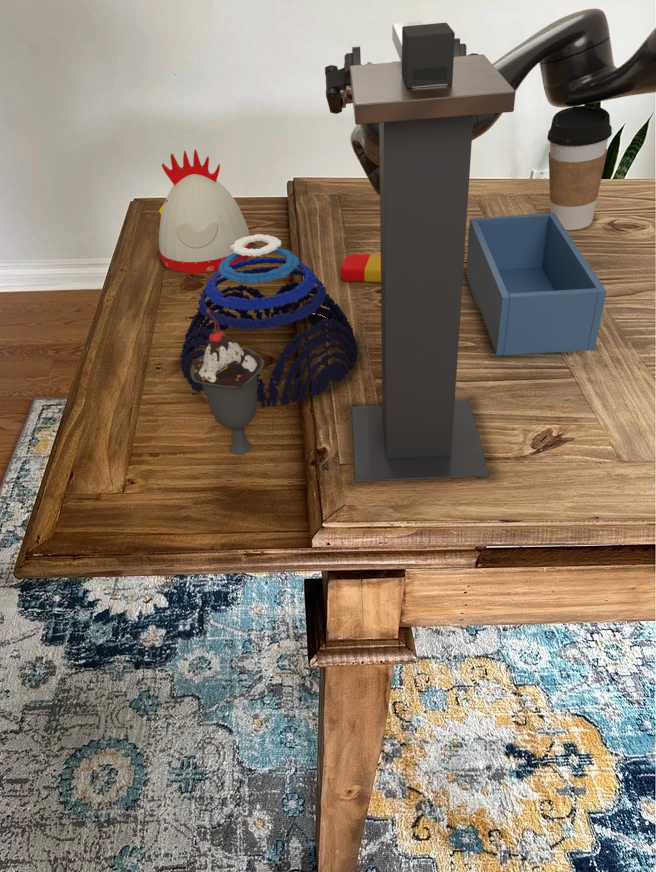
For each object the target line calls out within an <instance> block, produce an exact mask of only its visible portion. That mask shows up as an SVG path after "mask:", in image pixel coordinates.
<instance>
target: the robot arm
mask: <svg viewBox="0 0 656 872" xmlns="http://www.w3.org/2000/svg"><path fill="white" fill-rule="evenodd" d="M470 55H480V54H479V53H474V52H473V53H470V54H467V44H466V43H461V38H460V37H456V38H455V40H454V57H458V56H470ZM361 56H362V55H361V46H352V48H351V52H347V53H345V54H344V57H343V58H344V62H343V67H342V68H339V67H338V66H337V65H334V64H330V65H327V66H325V67H324V75H325V98H326V101H327V105H328V108H329V112H330V113H331V114H335V115H338V114H340V113H342V112H343V109H346V108H347V105H349V104H353V99H352V90H351V79H350V66H356V65H367V64H374V63H373V62H371V61H367V62H365V63H362V61H361V60H362V59H361V58H362V57H361ZM395 62H401V60H400V61H399V60H397V61H395ZM491 64H492V65H493V66H494V67H495V68H496V69H497V71H498V72H499V73H500V74H501V75H502V76H503V78H504V79H505V80H506V81H507V82H508V83H509V85H510V86H511V87H512V88H513V89H514V90H515V92H517V91H518V90H519V88H520V87H521V84H522V83H523V82H524V80H525V79H526V78H527V76H528V75H529V74H530V72H532V70H534V68H536V66H537V65H539V69H540V75H541V81H542V86H543V91H544V95H545V97H546V100H547V102H548V104H550V105H551V106H553V107H555V108H561V109H562V108H563V109H566V108H570V107H575V106H586V105H590V104H595V103H599V102H606V101H609V100H616V99H620V98H625V97H631V96H636V95H637V96H638V95H645V94H655V93H656V27H655V28H654V29H653V30H652V31H651V32H650V33H649V35H648V36H647V37H646V38H645V39H644V40H643V42H642V43H641V44H640V46H639V47H638V48H637V50H636V51H635V52H634V53H633V54H632V55H631V56H630V57H629V58H628V59H627V60H626V61H625V62H624V63H622V64H621V65H620V66H619V67H616V66H615V63H614V57H613V49H612V41H611V34H610V27H609V21H608V18H607V16H606V13H605V11H603V10H602V9H600V8H586V9H583V10H580V11H575V12H573V13H570V14H568V15H565V16H563V17H560V18H559V19H557V20H555V21H553V22H550V24H548V25H546V26H545V27H543V28H542V29H539V31H537V32H535V33H534V34H532V35H531V36H530V37H529V38H527V39H525V40H524V41H522V42H521V43H519V44H518V45H517V46H515V47H514V48H512V49H511V50H510V51H508V52H507V53H505V54H504V55H502V56H501V57H500V58H498V59H497V60H495V61H494V62H493V63H491ZM502 116H503V113H493V114H481V115H473V130H472V141H474V140H476V139H478V138H480V137H481V136H482V135H485V133H487V132H488V131H489V130H490V129H491V128H492V127H493V126H494V125H495V124H496V123H497V121H498V120H499V119H500V117H502ZM349 140H350V145H351V148H352V150H353V153H354V154H355V157H356V158H357V160H358V162H359V164H360V166H361V167H362V169H363V171H364V173H365V175H366V177H367V179H368V181H369V183H370V185H371V186H372V188H373V190H374V191H375V193H376V194H377V195H378V196H380V145H379V123H371V124H358V125H356V124H355V126H354V127H353V129H352V131H351V134H350V138H349Z"/></svg>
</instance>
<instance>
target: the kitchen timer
mask: <svg viewBox="0 0 656 872" xmlns="http://www.w3.org/2000/svg"><path fill="white" fill-rule="evenodd" d="M182 158H183V159H182V167H181V166H180V165H179V163H178V161H177V159H176V157H175V155H174V154H173V152H171V153H170V164H171V169H170V168H169V167H168V166H167V165H166V164H165V163H164V162H162V163H161V167H162V169H163V171H164V173H165V175H166V176H167V177H168V179H169V181H170V182H171V183H172V184H173V186H172V187H171V189H170V190H169V192H168V194H167V196H166V198H165V201H164V202H163V204H162V206H160V208H159V209H158V212H159V214H160V221H159V232H158V248H159V255H160V259H161V262H162V264H163V266H164V267H166V268H167V269H169V270H171V271H175V272H179V273H188V274H202V273H204V274H205V273H210V272H218V271H219V265H220V263H222V261H224V259H225V258H227V257H228V256H229V255H231V254H233V253H234V252H233V250H234V249H231V248H230V246H231V245H233V244H234V243H235V241H236V240H239V239H241V238H243V237H245V236H246V237H248V236H251V233H250V229H249V225H247V221H246V219H245V217H244V214H243V212H242V210H241V208H240V206H239V204H238V202H237V201H236V199H235V198H234V197H233V195H232V194H231V193H230V191H229V190H228V189H227V188H226V187H225V186H224V185H223V184H222V183H221V182H219V180H218V177H219V173H220V167H221V163H218V165H217V167H216V168H215V171H214V172H212V173H211V172H210V171H209V170H210V169H209V166H210V165H209V163H210V157H209V156H206V158H205V161H204V163H203V165H202V164H201V161H200V157H199V153H198V151H197V149H196V148H195V149H194V151H193V164H192V165H191V163H190V160H189V157H188V154H187V151H186V150H183V157H182ZM244 248H247V249H250V248H253V247H252V242H249V243H247V244H245V246H244ZM248 257H249V256H247V255H245V256H241V257H238V258H236V259H234V261H233V262H231V263H230V264H231V265H233V264H235V263H237V262H240V261H242V260H244V261H245V260H247V259H248ZM230 264H229V265H230Z"/></svg>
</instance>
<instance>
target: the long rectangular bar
mask: <svg viewBox="0 0 656 872" xmlns="http://www.w3.org/2000/svg"><path fill="white" fill-rule="evenodd" d="M391 27H392V28H391V29H392V30H391V32H392V33H391V34H392V37H391V38H392V39H391V40H392V42H393V45H394V47H395V51H396V53H397V56H398V58H399V60H400V61H401V63H402V77H403V79H404V82H405V85H406V87H407V88H408V89H409V88H422V87H434V86H445V85H452V82H453V61H454V40H455V37H456V32H455V31H454V30H453V29H452V27H451V26H450V25H449V24H448V22H436V23H435V22H434V23H425V24H423V22H422V21H421V20H420V21H409V22H407V21H406V22H397V23H392V26H391Z"/></svg>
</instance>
